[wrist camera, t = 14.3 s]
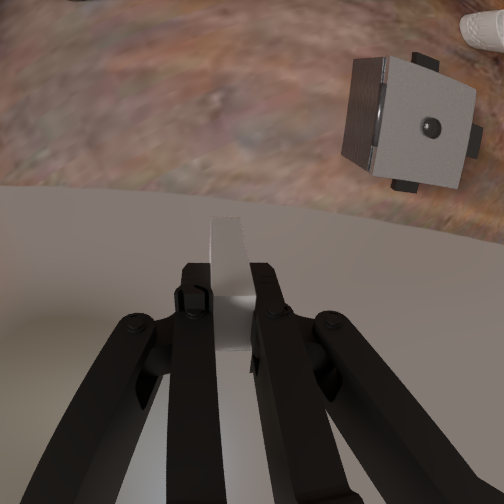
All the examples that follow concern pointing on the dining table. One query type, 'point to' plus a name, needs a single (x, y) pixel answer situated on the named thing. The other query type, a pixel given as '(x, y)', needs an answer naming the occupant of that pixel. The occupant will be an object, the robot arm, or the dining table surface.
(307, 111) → the dining table surface
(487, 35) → the white cup
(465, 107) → the lid
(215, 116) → the dining table surface
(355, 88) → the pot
